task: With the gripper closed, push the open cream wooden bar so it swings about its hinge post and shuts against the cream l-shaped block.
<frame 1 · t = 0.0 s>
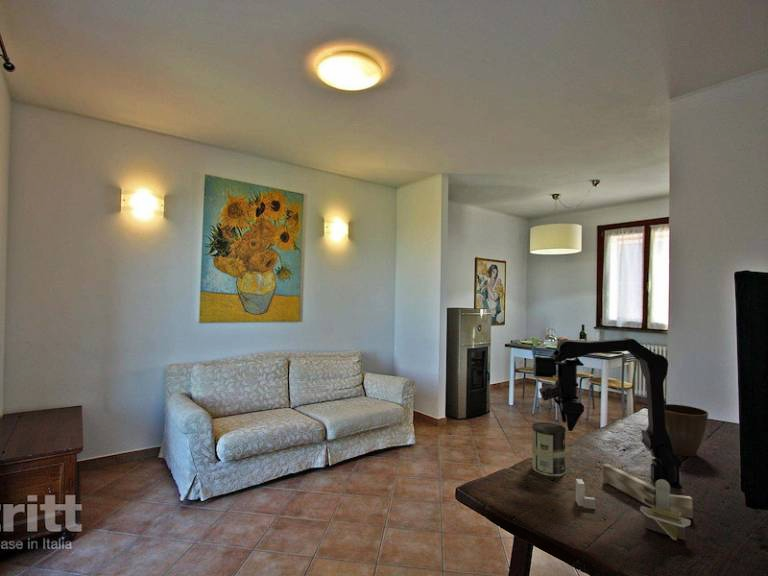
hand: (567, 426, 130), 15 cm above the table, fingers open, 9 cm apart
hinge post: (662, 513, 105), on the table
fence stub: (680, 515, 104), on the table
cream wooden bar: (629, 484, 115), point 3 cm above the table, hinge at -60.0°
coffee can: (548, 470, 131), on the table
plant pot: (682, 453, 148), on the table
platform: (664, 538, 95), on the table
cream l-shaped block: (580, 503, 110), on the table
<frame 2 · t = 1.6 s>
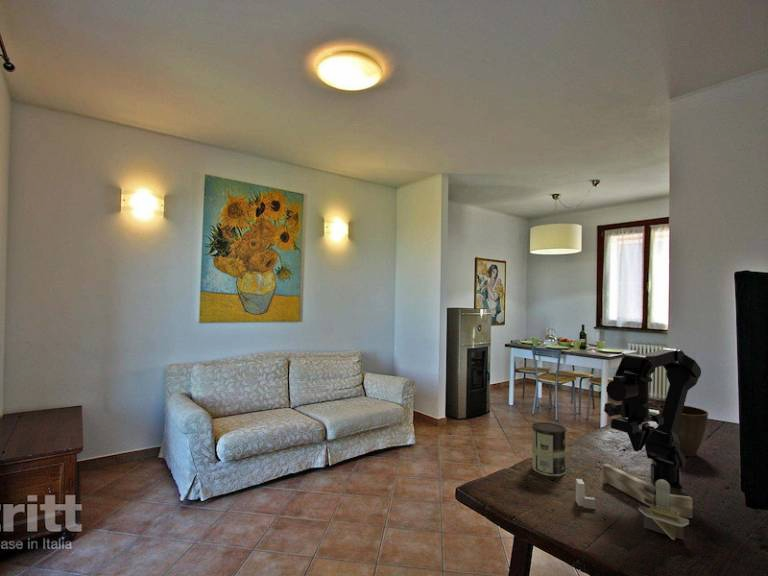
hand: (637, 450, 117), 12 cm above the table, fingers closed
nothing on the table moved.
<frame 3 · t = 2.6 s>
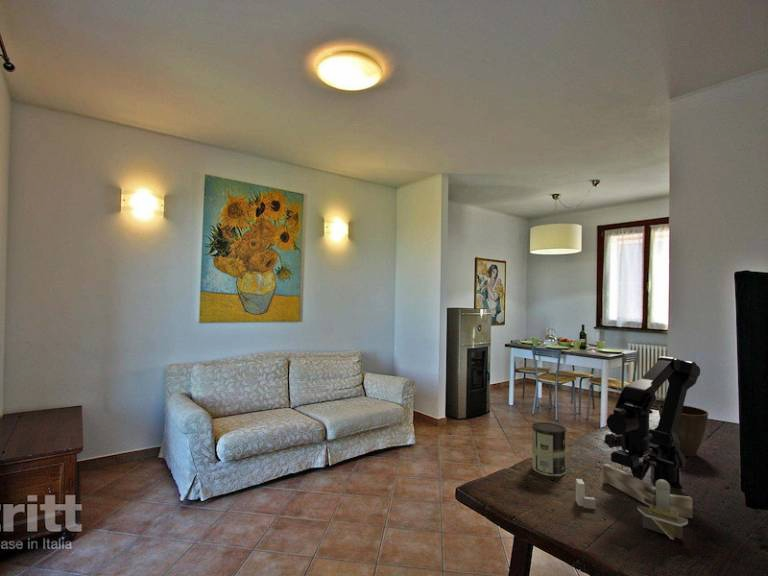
hand: (637, 483, 117), 3 cm above the table, fingers closed
nothing on the table moved.
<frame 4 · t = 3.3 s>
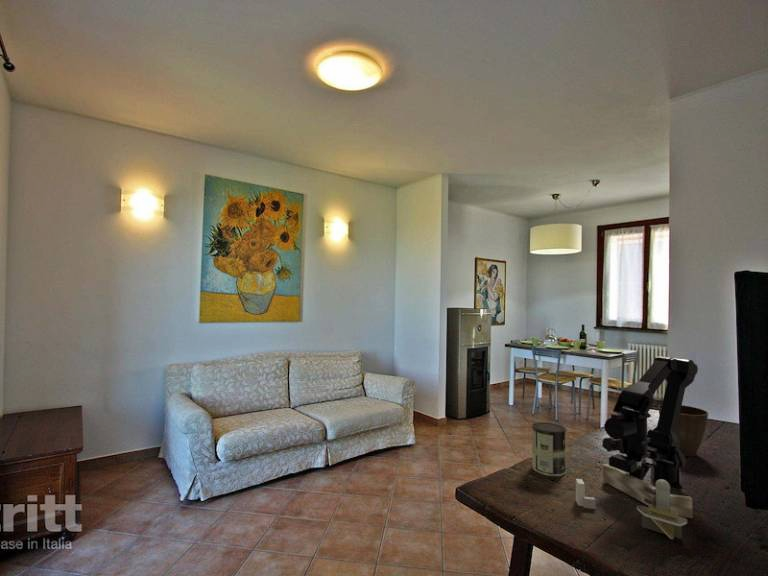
hand: (636, 487, 117), 2 cm above the table, fingers closed
cream wooden bar: (629, 484, 115), point 3 cm above the table, hinge at -59.5°, touching gripper
everything else where it was.
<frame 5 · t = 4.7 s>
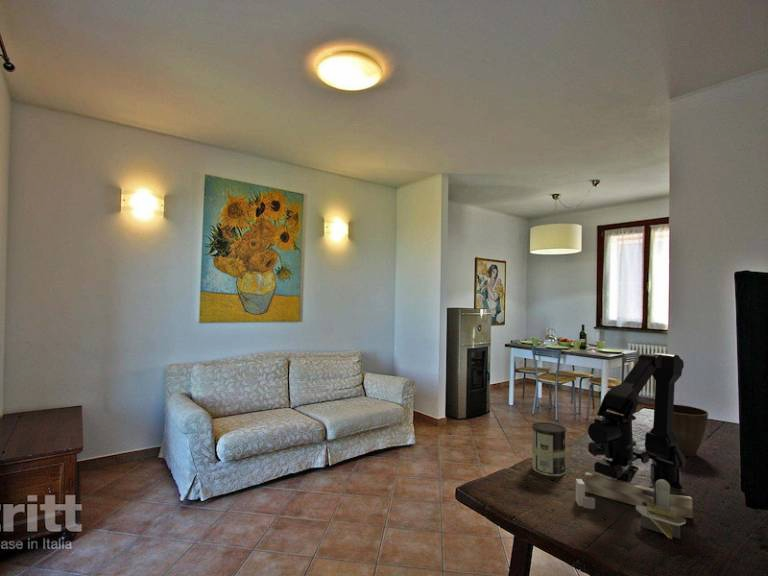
hand: (623, 491, 114), 2 cm above the table, fingers closed
cream wooden bar: (618, 490, 111), point 3 cm above the table, hinge at -23.7°, touching gripper
everything else where it was.
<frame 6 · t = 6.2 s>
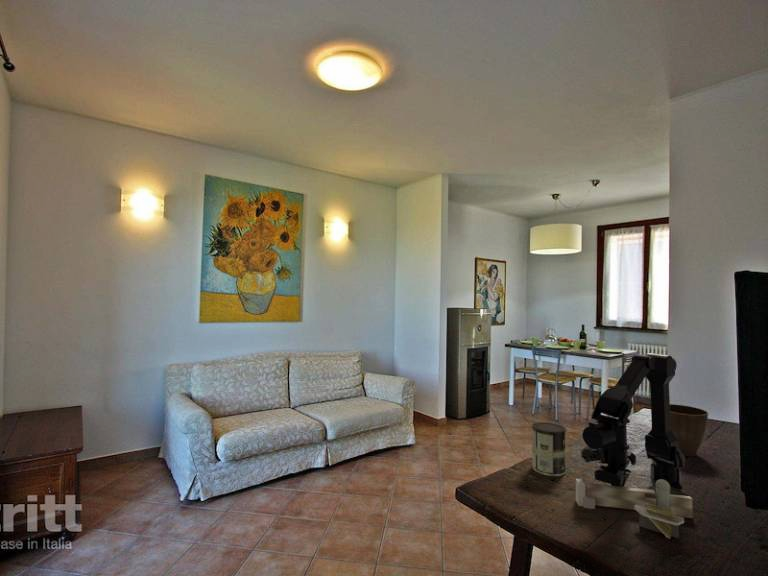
hand: (617, 496, 111), 1 cm above the table, fingers closed
cream wooden bar: (620, 497, 108), point 3 cm above the table, hinge at 0.4°, touching gripper
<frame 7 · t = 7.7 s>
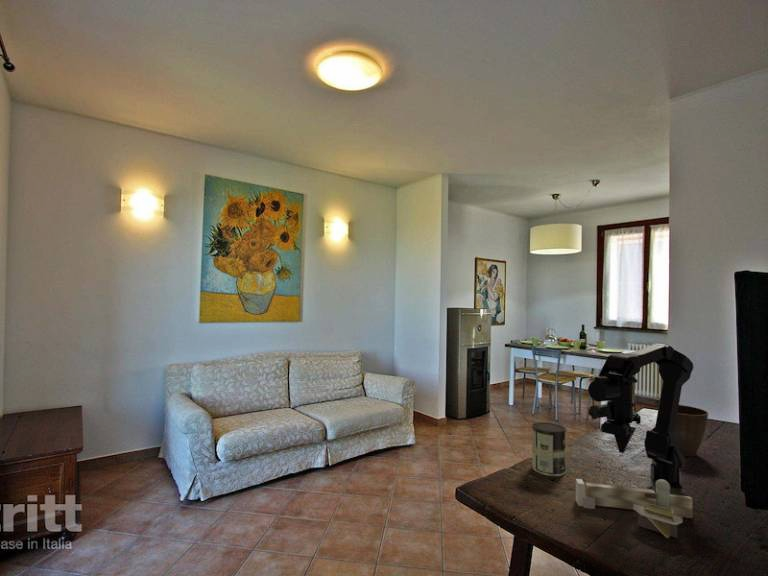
hand: (621, 452, 116), 12 cm above the table, fingers closed
cream wooden bar: (620, 497, 108), point 3 cm above the table, hinge at 0.4°
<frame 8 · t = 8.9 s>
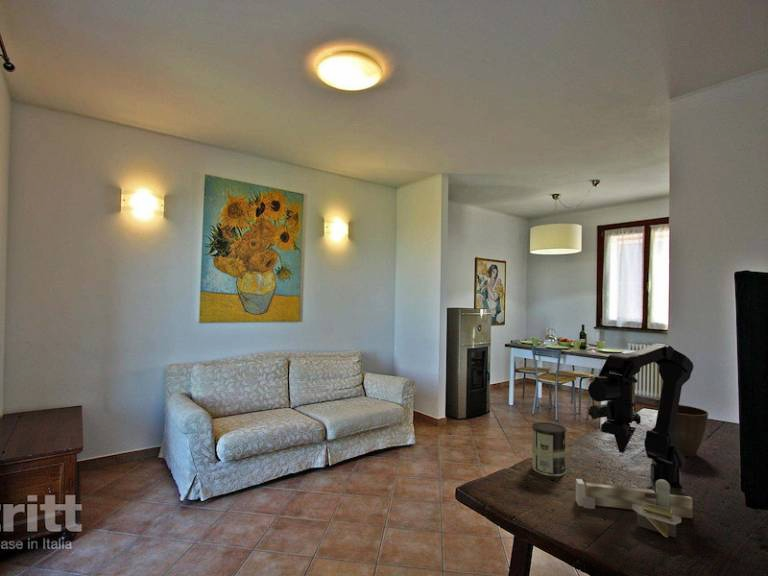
hand: (621, 452, 116), 12 cm above the table, fingers closed
at the end: cream wooden bar at +0° (first picture: -60°) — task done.
